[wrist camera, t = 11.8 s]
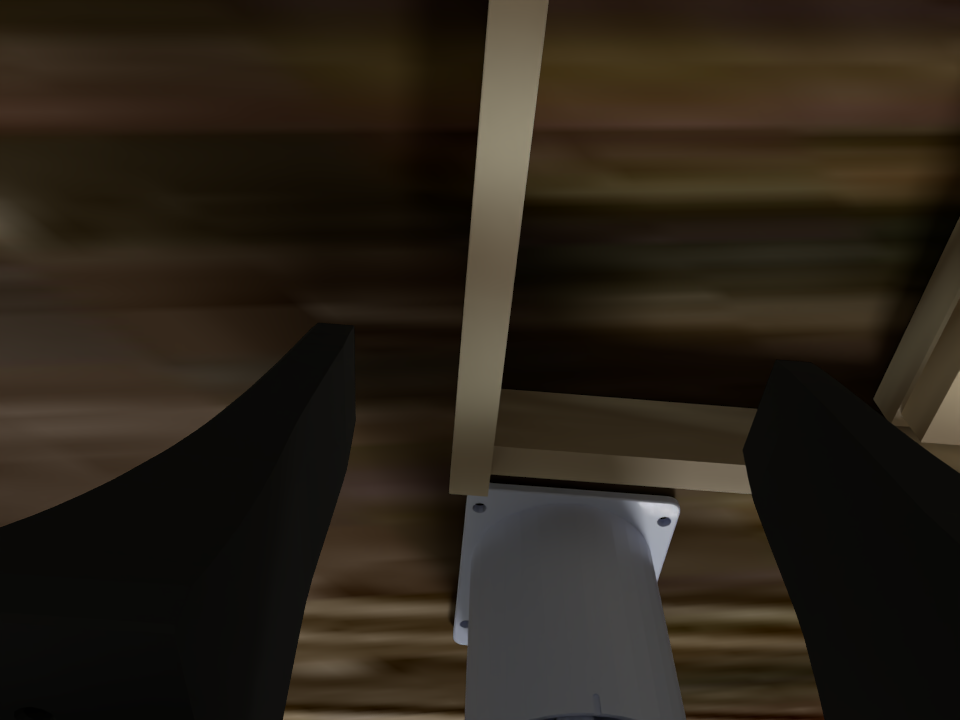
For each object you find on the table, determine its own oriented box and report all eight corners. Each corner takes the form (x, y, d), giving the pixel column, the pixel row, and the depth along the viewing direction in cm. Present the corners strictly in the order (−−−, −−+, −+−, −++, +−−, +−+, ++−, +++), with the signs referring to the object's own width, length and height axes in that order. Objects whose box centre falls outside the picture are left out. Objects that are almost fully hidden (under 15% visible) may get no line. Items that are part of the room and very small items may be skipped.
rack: (975, 452, 27) (1040, 537, 24) (455, 412, 27) (449, 493, 23) (1276, -49, 18) (1448, -23, 15) (498, -126, 18) (499, -117, 14)
